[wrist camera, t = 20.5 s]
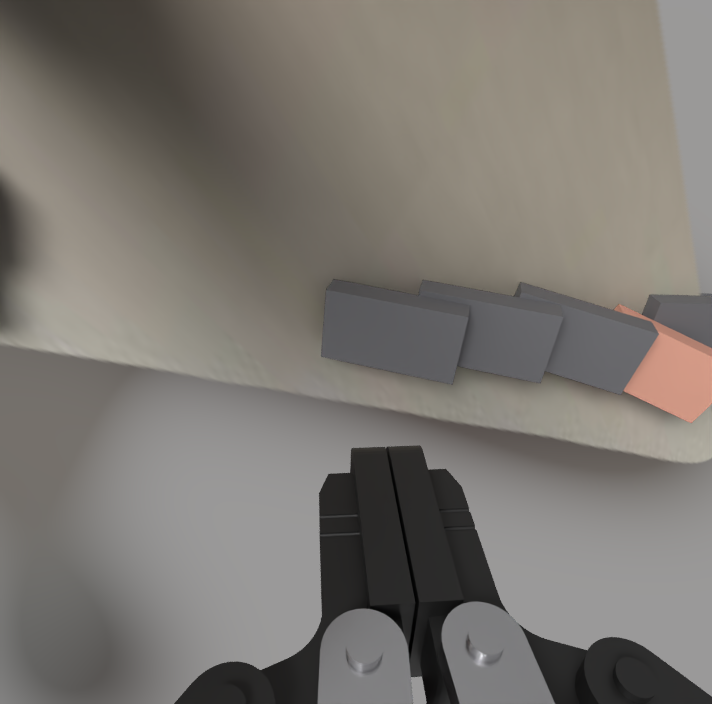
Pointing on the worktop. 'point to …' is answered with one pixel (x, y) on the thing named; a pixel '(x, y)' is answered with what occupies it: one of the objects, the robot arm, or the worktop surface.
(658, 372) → the domino
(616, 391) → the domino
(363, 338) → the domino
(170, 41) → the worktop surface
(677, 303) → the domino
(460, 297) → the domino
